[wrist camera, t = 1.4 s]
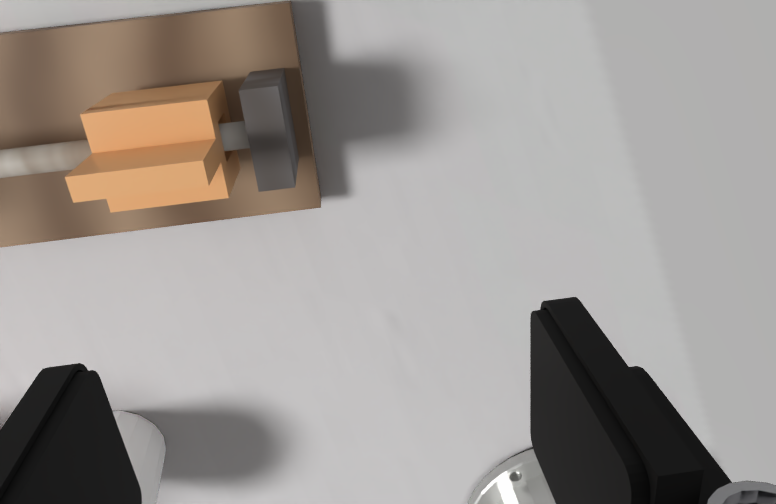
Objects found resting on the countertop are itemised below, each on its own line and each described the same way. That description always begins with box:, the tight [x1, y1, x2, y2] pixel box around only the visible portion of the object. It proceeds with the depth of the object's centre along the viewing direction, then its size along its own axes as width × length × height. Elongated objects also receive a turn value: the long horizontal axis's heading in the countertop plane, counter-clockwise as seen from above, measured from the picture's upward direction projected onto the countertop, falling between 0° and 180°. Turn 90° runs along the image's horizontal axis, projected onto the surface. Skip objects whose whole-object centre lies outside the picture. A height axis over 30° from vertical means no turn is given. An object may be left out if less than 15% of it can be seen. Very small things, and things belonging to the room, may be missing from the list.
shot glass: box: [112, 411, 166, 504], centre depth 37 cm, size 7×7×7 cm
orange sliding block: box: [65, 80, 241, 213], centre depth 26 cm, size 5×4×7 cm
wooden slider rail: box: [0, 1, 321, 247], centre depth 28 cm, size 24×10×8 cm, turn 96°
